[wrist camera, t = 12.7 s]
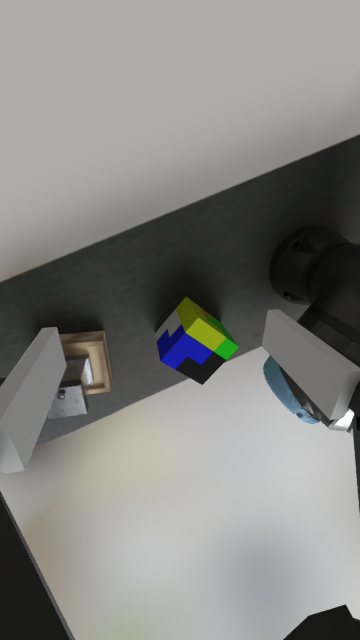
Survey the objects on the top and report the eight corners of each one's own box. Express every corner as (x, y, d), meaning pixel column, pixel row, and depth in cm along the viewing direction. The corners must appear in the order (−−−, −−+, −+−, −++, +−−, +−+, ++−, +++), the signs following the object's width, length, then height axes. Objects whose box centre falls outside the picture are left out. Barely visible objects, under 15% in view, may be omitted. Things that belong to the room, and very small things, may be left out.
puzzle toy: (155, 332, 50) (160, 360, 41) (186, 296, 48) (198, 317, 39) (190, 355, 54) (202, 384, 45) (220, 322, 52) (239, 346, 43)
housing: (94, 379, 48) (86, 416, 40) (62, 382, 47) (47, 421, 39) (89, 354, 46) (79, 388, 37) (55, 357, 45) (38, 393, 36)
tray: (104, 330, 48) (102, 340, 44) (112, 378, 53) (110, 391, 49) (39, 336, 46) (31, 347, 42) (53, 385, 51) (47, 399, 47)
